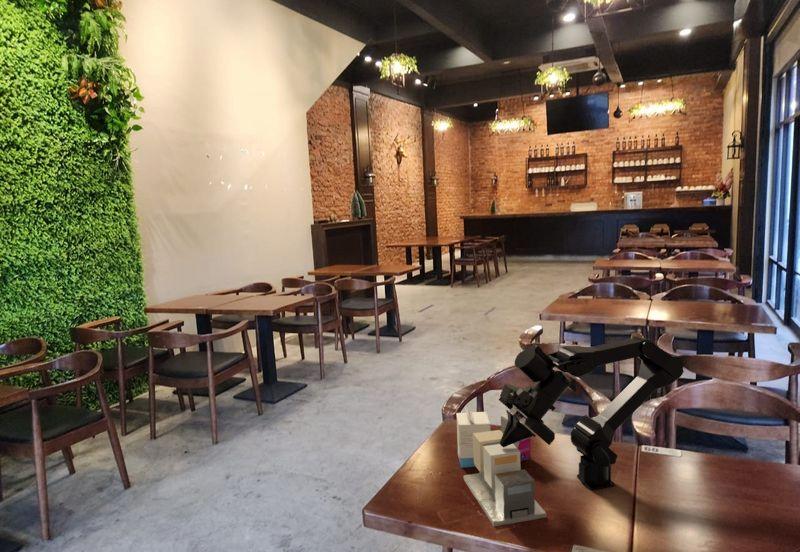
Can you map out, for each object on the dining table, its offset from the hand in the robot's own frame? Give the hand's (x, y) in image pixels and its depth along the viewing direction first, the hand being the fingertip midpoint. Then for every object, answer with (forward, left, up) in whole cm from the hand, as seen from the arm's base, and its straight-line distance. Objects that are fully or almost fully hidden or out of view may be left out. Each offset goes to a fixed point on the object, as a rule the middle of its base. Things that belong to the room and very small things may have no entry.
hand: (501, 445), depth 119 cm
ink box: (0, -19, -13) cm, 23 cm away
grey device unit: (0, 0, -13) cm, 13 cm away
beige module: (0, -7, -9) cm, 11 cm away
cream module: (0, 0, -9) cm, 9 cm away
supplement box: (-11, -17, -13) cm, 24 cm away
